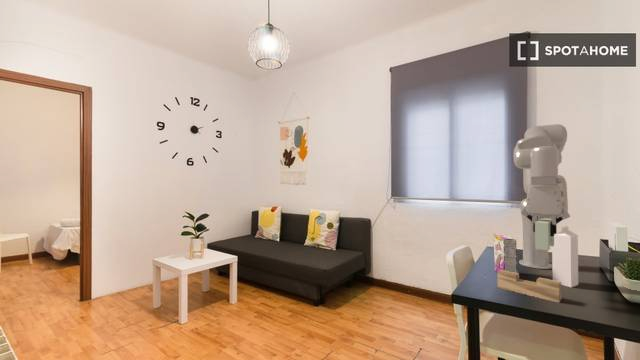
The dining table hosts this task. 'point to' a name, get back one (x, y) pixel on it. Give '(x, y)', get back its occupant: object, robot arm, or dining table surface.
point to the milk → (565, 257)
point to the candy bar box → (505, 253)
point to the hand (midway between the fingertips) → (544, 234)
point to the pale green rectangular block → (543, 234)
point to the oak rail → (529, 286)
